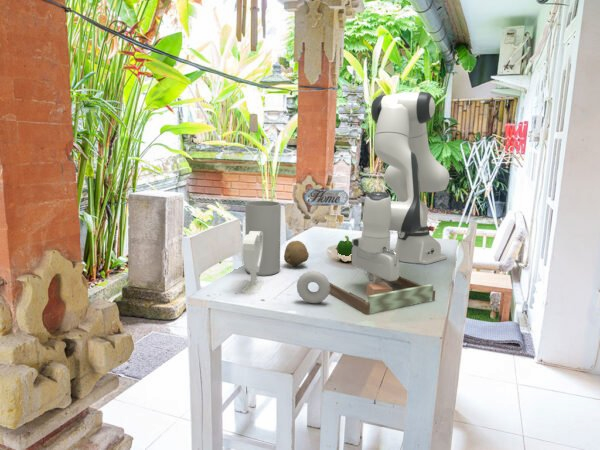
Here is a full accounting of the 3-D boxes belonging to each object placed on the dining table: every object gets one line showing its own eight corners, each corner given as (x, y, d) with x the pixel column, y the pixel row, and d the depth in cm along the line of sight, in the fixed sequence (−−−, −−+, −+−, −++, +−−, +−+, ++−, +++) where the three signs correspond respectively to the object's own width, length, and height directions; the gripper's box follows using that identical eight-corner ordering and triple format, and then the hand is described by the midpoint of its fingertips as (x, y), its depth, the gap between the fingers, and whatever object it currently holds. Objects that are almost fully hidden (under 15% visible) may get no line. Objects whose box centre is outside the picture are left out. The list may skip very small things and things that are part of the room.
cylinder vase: (281, 275, 164) (282, 206, 159) (246, 276, 161) (246, 206, 157) (277, 265, 176) (278, 200, 171) (244, 266, 174) (244, 201, 169)
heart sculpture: (256, 295, 143) (256, 238, 140) (240, 294, 144) (240, 238, 140) (265, 279, 159) (265, 228, 155) (250, 279, 159) (250, 228, 156)
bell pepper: (356, 264, 179) (357, 239, 177) (335, 263, 181) (336, 238, 179) (358, 259, 187) (359, 235, 185) (338, 257, 189) (339, 234, 187)
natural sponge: (312, 265, 177) (313, 240, 175) (300, 271, 169) (301, 244, 167) (292, 262, 181) (292, 237, 179) (280, 267, 174) (280, 241, 172)
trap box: (382, 277, 163) (383, 264, 162) (434, 300, 142) (435, 284, 141) (320, 288, 151) (320, 273, 150) (366, 314, 130) (367, 297, 129)
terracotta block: (384, 294, 147) (384, 282, 146) (391, 301, 141) (392, 288, 140) (366, 295, 145) (366, 283, 145) (373, 302, 140) (373, 289, 139)
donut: (295, 303, 137) (296, 271, 135) (297, 299, 140) (297, 268, 138) (328, 306, 135) (330, 273, 133) (330, 302, 139) (331, 270, 137)
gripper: (405, 250, 137) (402, 295, 140) (364, 236, 155) (362, 276, 157) (389, 253, 134) (386, 298, 137) (348, 238, 152) (347, 278, 154)
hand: (373, 286), depth 147 cm, fingers closed
